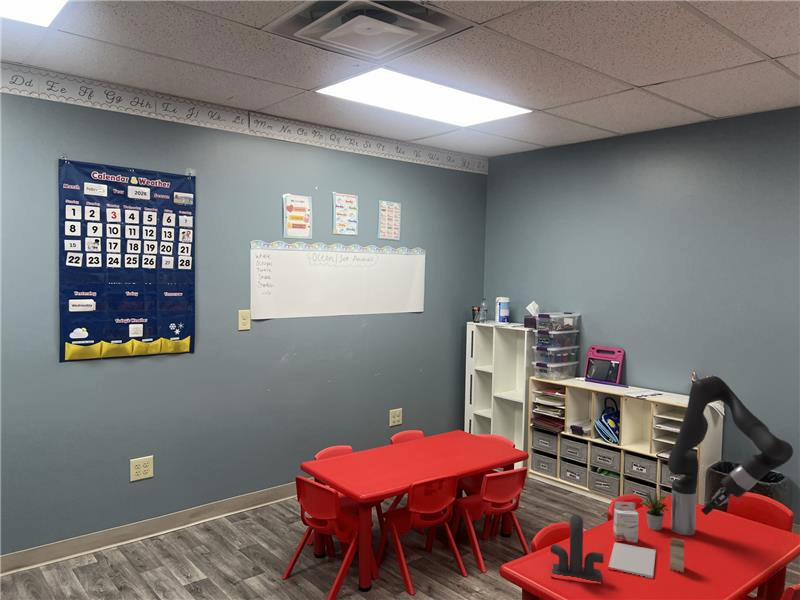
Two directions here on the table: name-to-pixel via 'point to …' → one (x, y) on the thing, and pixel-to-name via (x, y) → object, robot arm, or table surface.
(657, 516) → the house plant
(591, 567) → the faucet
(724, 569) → the table surface
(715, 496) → the robot arm
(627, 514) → the ink cartridge box
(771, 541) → the table surface
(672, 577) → the table surface
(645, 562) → the grey board
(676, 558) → the wooden block
